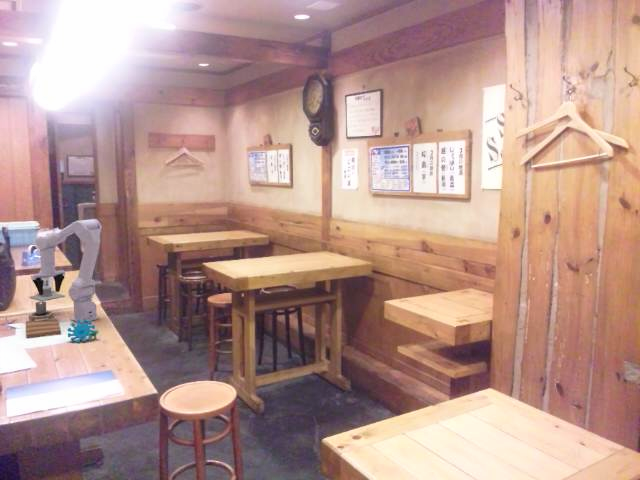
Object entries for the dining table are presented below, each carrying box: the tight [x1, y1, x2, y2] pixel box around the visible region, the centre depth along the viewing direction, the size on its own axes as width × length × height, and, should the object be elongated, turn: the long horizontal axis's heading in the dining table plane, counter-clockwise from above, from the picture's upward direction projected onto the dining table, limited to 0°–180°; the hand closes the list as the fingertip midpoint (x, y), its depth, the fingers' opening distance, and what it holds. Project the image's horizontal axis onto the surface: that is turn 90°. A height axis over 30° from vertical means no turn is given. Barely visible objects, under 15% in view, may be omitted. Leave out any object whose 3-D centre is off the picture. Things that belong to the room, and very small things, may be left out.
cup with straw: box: [34, 255, 54, 292], centre depth 280 cm, size 8×9×20 cm
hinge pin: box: [35, 301, 47, 316], centre depth 231 cm, size 4×4×8 cm
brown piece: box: [25, 310, 62, 339], centre depth 223 cm, size 29×12×3 cm, turn 29°
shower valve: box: [29, 285, 66, 302], centre depth 273 cm, size 12×6×15 cm
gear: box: [67, 319, 99, 344], centre depth 207 cm, size 11×6×10 cm
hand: (49, 293), depth 240 cm, fingers open, 7 cm apart
